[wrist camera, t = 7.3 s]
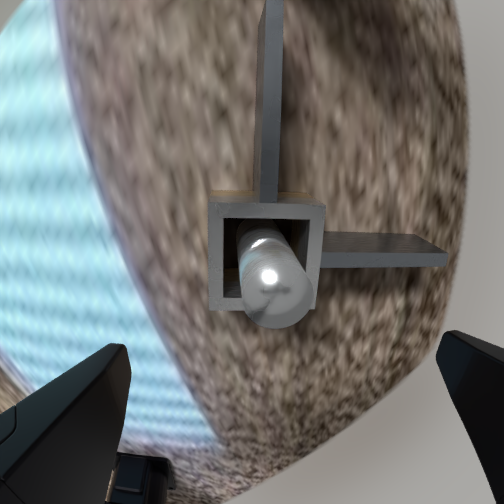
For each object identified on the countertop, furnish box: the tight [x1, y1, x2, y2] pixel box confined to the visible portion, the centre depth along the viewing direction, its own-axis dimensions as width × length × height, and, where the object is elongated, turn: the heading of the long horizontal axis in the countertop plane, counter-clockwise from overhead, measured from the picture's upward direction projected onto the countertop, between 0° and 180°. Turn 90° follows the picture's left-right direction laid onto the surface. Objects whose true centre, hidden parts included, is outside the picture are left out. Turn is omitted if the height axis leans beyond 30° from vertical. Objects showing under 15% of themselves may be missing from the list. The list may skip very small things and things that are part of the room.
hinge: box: [208, 0, 448, 310], centre depth 16 cm, size 15×13×4 cm
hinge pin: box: [236, 218, 314, 329], centre depth 15 cm, size 3×3×8 cm
